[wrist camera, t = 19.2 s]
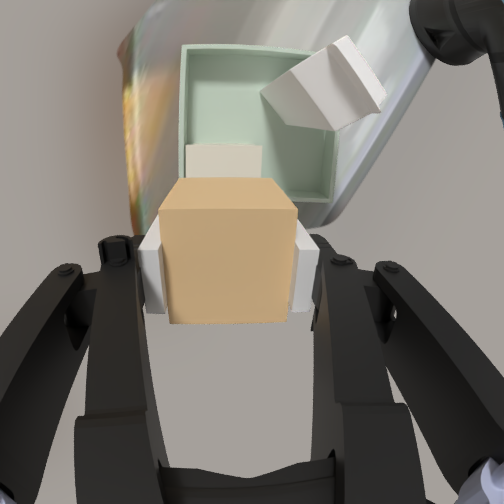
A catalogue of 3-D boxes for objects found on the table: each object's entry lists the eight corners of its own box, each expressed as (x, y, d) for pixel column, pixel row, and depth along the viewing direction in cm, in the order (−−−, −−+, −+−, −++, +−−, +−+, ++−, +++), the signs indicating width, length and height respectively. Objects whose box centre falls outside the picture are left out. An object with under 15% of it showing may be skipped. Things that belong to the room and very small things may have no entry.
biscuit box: (271, 178, 16) (298, 209, 11) (267, 261, 18) (286, 321, 13) (179, 177, 16) (158, 209, 10) (183, 261, 18) (169, 323, 12)
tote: (331, 61, 36) (343, 56, 32) (322, 194, 44) (332, 203, 40) (186, 52, 33) (182, 44, 29) (183, 192, 42) (179, 200, 38)
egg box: (255, 141, 39) (262, 145, 33) (254, 181, 42) (260, 193, 35) (191, 141, 38) (185, 145, 32) (191, 181, 41) (186, 193, 35)
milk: (285, 125, 39) (350, 137, 19) (258, 90, 36) (297, 63, 16) (320, 101, 37) (410, 95, 18) (294, 66, 35) (364, 25, 15)
